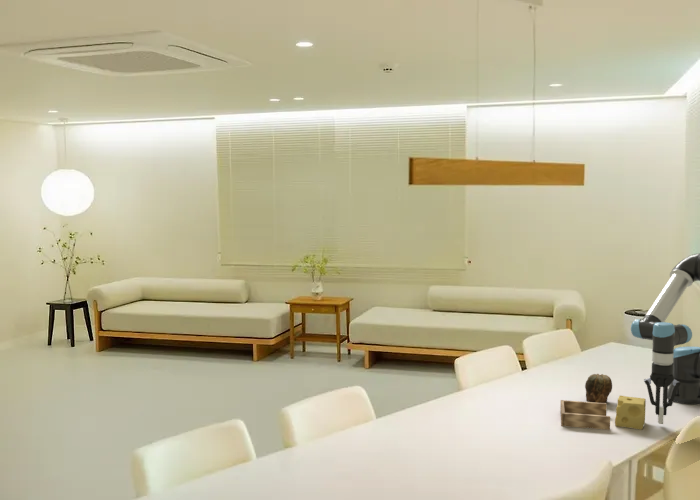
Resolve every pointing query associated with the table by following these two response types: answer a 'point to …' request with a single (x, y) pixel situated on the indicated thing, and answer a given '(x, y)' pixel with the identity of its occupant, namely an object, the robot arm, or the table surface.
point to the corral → (584, 414)
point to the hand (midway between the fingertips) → (660, 422)
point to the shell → (598, 388)
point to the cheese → (630, 412)
